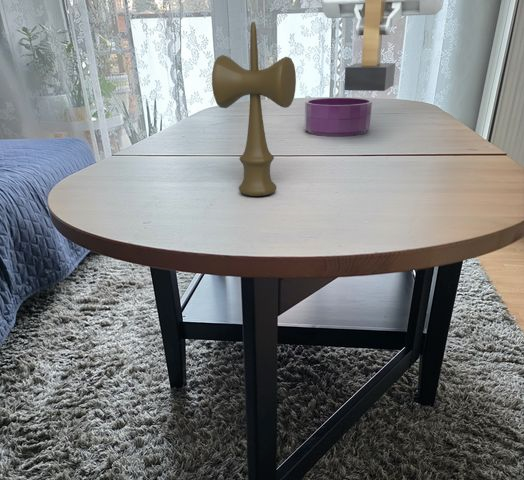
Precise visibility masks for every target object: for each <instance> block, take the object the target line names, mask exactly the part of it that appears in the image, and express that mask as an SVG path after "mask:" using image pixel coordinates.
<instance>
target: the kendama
mask: <svg viewBox="0 0 524 480" xmlns="http://www.w3.org/2000/svg"><path fill="white" fill-rule="evenodd" d="M249 32H250V36H249V39H250V40H249V44H250V45H249V49H250V50H249V53H250V54H249V55H250V57H249V59H250V60H249V65H250V66H249V69H246V68H244V67H242V66H241V65H239V64H238V63H237V62H236V61H234V59H232V58H231V57H230V56H227V55H224V54H221V55H220V56H217V57H216V59H215V61H214V62H213V67H212V73H211V89H212V93H213V97H214V100H215V103H216V104H217V106H218V107H219V108H221V109H227V108H229V107H231V106H232V105H233V104H235V103H236V102H237V101H238V100H240V99H242V98H243V97H245V96H249V113H248V125H247V135H246V143H245V148H244V152H243V153H242V155H240V157H238V158H239V161H240V163H241V164H242V166H243V178H242V182H241V183H240V185H238V191H239V192H240V193H241V194H242V195H245V196H250V197H263V196H268V195H271V194H274V192H275V191H276V190H277V185H276V183H275V182H273V181H272V177H271V165H272V162H273V161H274V159H275V156H274V155H273V154H271V152H270V150H269V148H268V144H267V138H266V132H265V125H264V119H263V109H262V101H261V100H262V99H261V98H262V97H261V96H263V97H265V98H267V99H268V100H270V101H272V102H273V103H275V104H276V105H277V106H279V107H281V108H284V109H287V108H289V107H290V106H291V105H292V103H293V102H294V99H295V95H296V87H297V75H296V73H297V72H296V67H295V66H296V65H295V64H294V62H293V59H292V58H291V57H289V56H284V57H282V58H280V59H279V60H277V61H276V62H274V63H272V64H271V65H270V66H268V67H266V68H263V69H260V68H259V52H258V51H259V50H258V33H257V25H256V22H255V21H251V24H250V31H249Z"/></svg>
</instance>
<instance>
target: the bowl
mask: <svg viewBox="0 0 524 480" xmlns="http://www.w3.org/2000/svg"><path fill="white" fill-rule="evenodd" d="M372 109H373V100H371V99H368V98H367V99H366V98H360V97H359V98H357V97H323V98H314V99H308V100H306V101H305V102H304V129H305V130H307V132H308V134H310V135H313V136H314V135H315V136H321V137H352V136H360V135H364V134H366V133H367V131H368V130H370V128H371V123H372V122H371V121H372Z"/></svg>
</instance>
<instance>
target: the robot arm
mask: <svg viewBox="0 0 524 480" xmlns="http://www.w3.org/2000/svg"><path fill="white" fill-rule="evenodd" d="M320 3H321V4H320V5H321V9H322V13H323V15H324V16H325V18H326V19H348V18H354V20H355V24H356V25H355V34H356V36H363V32H364V16H365V0H320ZM443 6H444V0H385V7H384V18H382V20H381V24H380V35H382V36H390V34H391V30H392V28H393V27H394V26H396V24H397V23H398V22H399V21H400V20H401V19H402V17H404V16H405V17H407V16H408V17H409V16H435V15H437V14H438V13H439V12H440V11H442V9H443ZM385 17H386V18H385Z"/></svg>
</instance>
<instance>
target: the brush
mask: <svg viewBox="0 0 524 480" xmlns="http://www.w3.org/2000/svg"><path fill="white" fill-rule="evenodd" d="M384 7H385V0H365V16H364V32H363V35H362V50H361V51H362V52H361V62H356V63H354V64H351V65H348V66H346V67H345V68H344V85H343V90H344V91H355V92H356V91H360V92H361V91H363V92H371V91H372V92H385V91H386V90H388V89H390V88H392V87H393V86H394V85H395V73H396V62H381V58H382V45H383V44H382V43H383V35H380V24H381V20H382V18H385V16H384Z"/></svg>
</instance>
